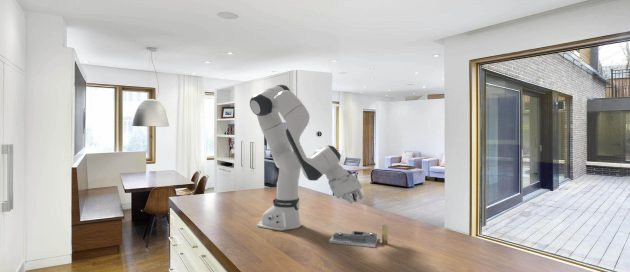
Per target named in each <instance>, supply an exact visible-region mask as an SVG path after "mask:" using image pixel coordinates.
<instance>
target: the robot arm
mask: <svg viewBox="0 0 630 272" xmlns="http://www.w3.org/2000/svg"><path fill="white" fill-rule="evenodd" d="M249 107H250V110H251V112H252V113H253V114H254V115H255V116H257V121H258V124H259V127H260V129H261V131H262V134H263V135H264V138H265V140H266V142H267V145H268V148H269V151H270V154H271V156H272V160H273V162H274V165H275V166H276V168H278V175H277V181H276V197H275V198H274V199H273V200H272V201H271V203H272V204H273V205H271V206H270V207H269V208H268V209H266V210H265V212H263V214H262V217H261V220H259V222H258V223H257V225H256V226H257V227H258V228H264V229H270V230H276V231H286V230H287V231H288V230H293V229H299V228H300V227H301V226H302V223H301V218H300V198H299V181H300V180H299V179H300V176H301V175H300V173H301V171H302V174H303V175H304V177H305V178H306V179H307V180H308V181H314V182H315V181H318V180H319V179H321V178H322V177H323V175H325V177H326V179H327V180H328V185H329V188H330V190H331V192H332V193H333V194H334V196H335V197H336V198H337V199H344V200H346V201H347V202H348V203H349V204H350V205H352V204H354V203H355V200H354V198H352V197H350V195H353V194H355V195H357V197H358V199H359V200H360V201H361V200H364V198H365V197H364V196H363V194H362V193H363V192H362V191H361V189H362V188H363V185H362V183H361V182H360V180H359V179H358V178H357V177H356V176H355V175H354V173H353V171H352V170H348V169H345V168H344V167H343V165H340V164H339V163H340V161H341V156H342V155H341V153H340V151H338V149H337V148H336V147H335V146H334V145H330V144H329V145H325V146H324V147H319V148H318V149H316V150H315V151H314V153H313V155H311V156H310V157H307V155H306V153H305V151H304V149H303V147H302V145H301V141H300V138H301V136H302V134H304V133H303V132H305V130H306V129H307V126H308V125H309V123H310V117H311V116H310V113H309V111H308V110H307V107H306V106H305V105H304V103H303V102H302V101H301V100H300V99H299V98H298V97H297V96H296V95H295V94H294V92H292V90H291V89H290V88H289V87H288V86H287V85H285V84H278V85H275V86H272V87H268V88H266V89H265V90H263V91H261V92H259V93H256V94H254V95H253V96H252V97H251V98H250V100H249ZM279 113H280V114H279ZM280 115H281V117H282V118H283V120H284V121H285V124H286V127H287V129H286V127H285V125H284V123H283V121H282V119H281V117H280Z"/></svg>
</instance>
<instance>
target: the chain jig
mask: <svg viewBox="0 0 630 272" xmlns="http://www.w3.org/2000/svg"><path fill="white" fill-rule="evenodd" d="M378 240H379V236H378V233H375V232H367V231H359V230H353V231H352V232H351V233H346V232H342V231H341V232H334V233H333V235H332V236H331V237H330V239H329V240H328V244H329V243H330V244H340V245H348V246H349V245H350V246H355V247H356V246H357V247H358V246H359V247H367V248H376V247H377V246H376V245H377V243H378Z"/></svg>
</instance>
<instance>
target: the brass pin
mask: <svg viewBox="0 0 630 272" xmlns="http://www.w3.org/2000/svg"><path fill="white" fill-rule="evenodd" d="M388 230H389V225H388V224H382V225H381V244H382V245H386V246H387V245H388V243H389V241H388V240H389V239H388V238H389V237H388V235H389V234H388Z"/></svg>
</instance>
